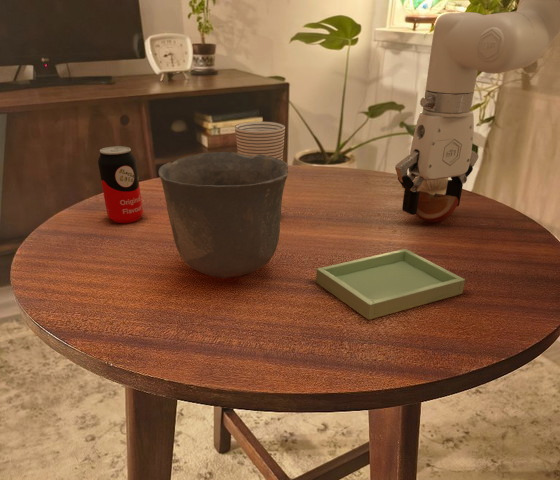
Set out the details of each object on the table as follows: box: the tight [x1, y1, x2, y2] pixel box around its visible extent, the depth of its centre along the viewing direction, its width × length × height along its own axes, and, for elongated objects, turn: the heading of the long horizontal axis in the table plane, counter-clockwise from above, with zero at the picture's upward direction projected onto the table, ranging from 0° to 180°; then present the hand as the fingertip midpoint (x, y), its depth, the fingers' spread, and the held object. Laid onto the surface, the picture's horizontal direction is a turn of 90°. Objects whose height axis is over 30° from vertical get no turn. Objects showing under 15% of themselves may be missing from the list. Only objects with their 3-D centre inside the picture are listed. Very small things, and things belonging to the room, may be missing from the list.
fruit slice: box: [415, 190, 458, 224], centre depth 100 cm, size 8×7×5 cm
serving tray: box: [315, 248, 466, 321], centre depth 77 cm, size 16×13×2 cm
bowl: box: [158, 151, 290, 279], centre depth 78 cm, size 18×18×15 cm
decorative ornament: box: [417, 178, 449, 195], centre depth 112 cm, size 4×8×5 cm, turn 109°
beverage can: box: [97, 145, 144, 224], centre depth 99 cm, size 6×6×12 cm
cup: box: [234, 120, 286, 161], centre depth 98 cm, size 8×8×16 cm
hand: (430, 208), depth 100 cm, fingers open, 9 cm apart
